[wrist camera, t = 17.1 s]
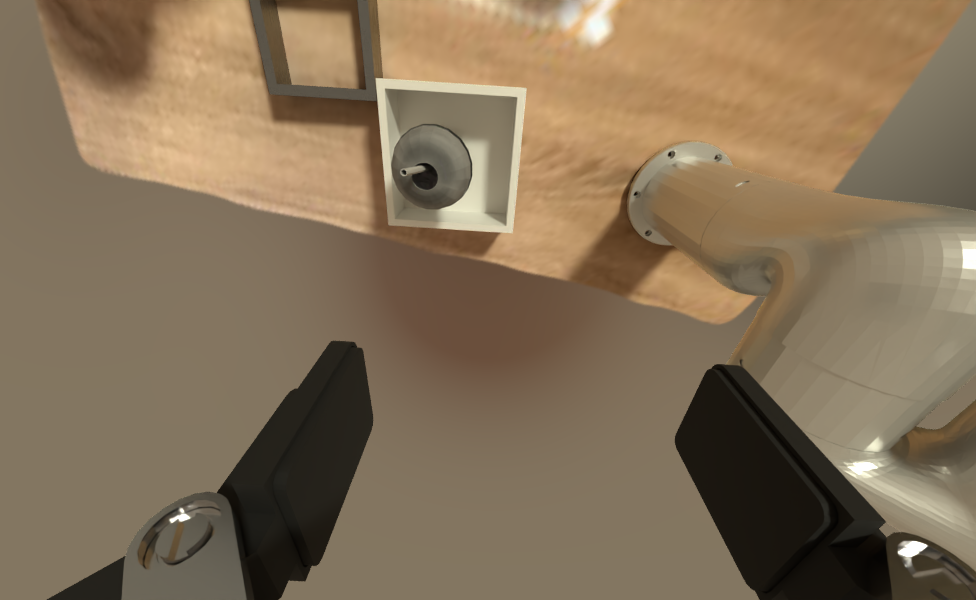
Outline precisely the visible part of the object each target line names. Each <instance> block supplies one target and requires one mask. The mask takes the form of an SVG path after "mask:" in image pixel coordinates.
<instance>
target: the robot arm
mask: <svg viewBox="0 0 976 600" xmlns="http://www.w3.org/2000/svg"><path fill="white" fill-rule="evenodd" d="M669 152H670V155H669V156H668V153H669ZM715 156H716V158H715ZM714 158H715V159H714ZM635 192H637V193H636V195H634V193H635ZM627 213H628V217H629V220H630V222H631V224H632V226H633V228H634V229H635V230H636V231H637V232H638V233H639V234H640V235H641V236H642V237H643V238H644V239H646V240H648V241H650V242H652V243H655V244H659V245H673V246H675V247H676V248H677V249H678V250H679V251H681V252H682V253H683V254H684V255H686V256H687V257H688V258H689V259H690V260H692V261H693V262H694V263H695V264H696V265H698V266H699V267H700V268H701V269H702V270H704V271H705V272H706V273H707V274H709V275H710V276H711V277H713V278H714V279H715V280H716V281H717V282H719V283H720V284H722V285H723V286H725V287H726V288H728V289H731V290H733V291H735V292H738V293H742V294H747V295H753V296H766V298H765V300H764V301H763V303H762V305H761V306H760V308H759V310H758V311H757V315H756V317H755V318H754V320H753V321H752V323H751V325H750V326H749V328H748V329H747V331H746V333H745V334H744V336H743V337H742V339H741V341H740V342H739V344H738V345H737V347H736V349H735V350H734V352H733V353H732V355H731V357H730V358H729V360H728V361H727V363H726V364H725V365H723V364H717V365H714V366H713V367H712V369H709V370H707V371H706V373H705V375H704V377H703V379H702V381H701V383H700V385H699V387H698V389H697V391H696V393H695V396H694V398H693V400H692V402H691V404H690V406H689V408H688V410H687V412H686V414H685V416H684V419H683V421H682V423H681V425H680V427H679V429H678V431H677V433H676V436H675V445H676V448H677V450H678V452H679V454H680V456H681V458H682V460H683V462H684V464H685V466H686V468H687V470H688V472H689V474H690V475H691V477H692V480H693V481H694V483H695V485H696V487H697V489H698V491H699V493H700V495H701V497H702V499H703V501H704V503H705V505H706V507H707V509H708V511H709V512H710V514H711V516H712V518H713V520H714V522H715V524H716V526H717V528H718V530H719V532H720V534H721V536H722V538H723V539H724V542H725V544H726V546H727V548H728V549H729V551H730V553H731V555H732V557H733V559H734V561H735V563H736V565H737V567H738V569H739V571H740V572H741V575H742V577H743V578H744V580H745V582H746V584H747V585H748V586H749V587H750V588H751V589H753V590H755V592H756V593H757V596H758V597H759V599H760V600H976V400H975V401H973V402H972V403H971V404H970V405H969V406H968V407H967V408H965V409H964V410H963V411H962V412H961V413H959V414H958V415H957V416H956V417H955V418H953V419H952V420H951V421H950V422H949V423H948V424H946V425H945V426H944V427H942V428H939V429H926V428H922V427H917V425H918V424H919V423H920V422H921V421H922V420H923V419H924V418H925V417H926V416H927V415H928V414H930V413H931V411H933V410H934V409H935V408H936V407H937V406H938V405H939V404H940V403H941V402H942V401H946V400H948V399H949V398H950V397H951V396H953V395H954V394H955V393H956V392H957V391H958V390H959V389H960V388H961V387H962V386H963V385H965V384H966V383H967V382H968V381H969V380H970V379H971V378H972V377H974V376H975V375H976V211H971V210H966V209H960V208H953V207H947V206H940V205H932V204H921V203H910V202H898V201H888V200H877V199H869V198H862V197H855V196H848V195H842V194H838V193H833V192H828V191H824V190H820V189H815V188H811V187H807V186H804V185H800V184H796V183H793V182H789V181H785V180H781V179H778V178H774V177H770V176H767V175H763V174H759V173H756V172H752V171H749V170H745V169H741V168H738V167H734V166H733V165H732V162H731V160H730V159H729V158H728V156H727V155H726V154H725V153H724V152H723V151H722V150H721V149H719V148H718V147H716V146H713V145H711V144H708V143H704V142H696V141H688V142H681V143H677V144H674V145H671V146H669V147H667V148H665V149H663V150H661V151H659V152H658V153H657V154H655V155H654V156H653V157H651V158H650V159H649V160H648V161H647V162H646V163H645V164H644V165H643V166H642V167H641V169H640V170H639V172H638V173H637V174H636V176H635V178H634V180H633V182H632V184H631V186H630V189H629V193H628V198H627ZM647 230H648V231H647ZM646 231H647V232H646ZM645 232H646V233H645ZM372 426H373V413H372V406H371V400H370V393H369V386H368V380H367V373H366V367H365V361H364V354H363V350H362V348H357V346H356V344H355V343H354V342H346V341H331V342H330V343H329V345H328V346H327V348H326V349H325V351H324V352H323V353H322V355H321V356H320V358H319V359H318V361H317V362H316V363H315V365H314V366H313V368H312V369H311V370H310V372H309V373H308V375H307V376H306V378H305V379H304V380H303V382H302V383H301V385H300V386H299V388H298V389H294V390H292V391H290V392H289V394H288V395H287V396H286V397H285V399H284V400H283V401H282V403H281V404H280V406H279V407H278V408H277V410H276V411H275V412H274V414H273V415H272V417H271V418H270V419H269V421H268V422H267V424H266V425H265V426H264V428H263V429H262V431H261V432H260V433H259V435H258V436H257V438H256V439H255V440H254V442H253V443H252V444H251V446H250V447H249V449H248V450H247V451H246V453H245V454H244V456H243V457H242V458H241V460H240V461H239V463H238V464H237V465H236V467H235V468H234V469H233V471H232V472H231V474H230V475H229V476H228V478H227V479H226V480H225V482H224V483H223V485H222V486H221V488H220V489H219V490H218V492H217V493H214V492H202V493H195V494H192V495H190V496H187V497H184V498H181V499H179V500H177V501H175V502H174V503H172V504H170V505H168V506H167V507H165V508H163V509H162V510H161V511H160V512H158V513H157V514H156V515H154V516H153V517H152V518H151V519H149V520H148V521H147V523H146V524H145V525H144V526H143V527H142V528H141V529H140V530H139V531H138V532H137V534H136V535H135V537H134V539H133V540H132V542H131V543H130V545H129V547H128V549H127V553H126V556H124V557H123V558H121V559H119V560H117V561H116V562H114V563H112V564H110V565H108V566H107V567H105V568H103V569H101V570H99V571H97V572H96V573H94V574H92V575H90V576H89V577H87V578H85V579H83V580H81V581H79V582H78V583H76V584H74V585H72V586H71V587H69V588H67V589H65V590H63V591H62V592H60V593H58V594H56V595H54V596H52V597H51V598H49V599H47V600H278V599H280V598H281V597H282V594H283V592H284V590H285V587H286V585H287V583H288V581H289V580H290V581H306V578H307V576H308V573H309V571H310V568H311V566H316V565H318V564H319V563H320V561H321V559H322V557H323V554H324V552H325V549H326V546H327V544H328V541H329V539H330V536H331V534H332V531H333V529H334V526H335V523H336V520H337V518H338V516H339V513H340V510H341V508H342V505H343V503H344V500H345V497H346V495H347V492H348V490H349V487H350V484H351V482H352V479H353V477H354V474H355V471H356V469H357V466H358V464H359V461H360V459H361V456H362V453H363V451H364V448H365V445H366V443H367V440H368V438H369V435H370V432H371V430H372ZM884 523H887V524H889V525H890V526H892V527H894V528H896V529H898V530H899V531H901V532H896V533H895V532H894V533H892V534H891V535H889V536H888V537H886V536H885V535H884V534H883V533H882V532H881V531H880V530H879V528H880V527H881V526H882V525H883V524H884Z"/></svg>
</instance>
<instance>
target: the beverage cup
mask: <svg viewBox="0 0 976 600" xmlns="http://www.w3.org/2000/svg"><path fill="white" fill-rule="evenodd" d="M391 168H392V177H393V179H394V182H395V184H396V187H397V189H398V190H399V191H400V193H401V194H402V195H403V196H404V198H405V199H407V200H408V201H409V202H411V203H412V204H414V205H415V206H418V207H421V208H424V209H435V210H438V209H441V208H445V207H448V206H451V205H453V204H454V203H456V202H457V201H458V200H460V199H461V198H462V197H463V195H464V194H465V193H466V191H467V190H468V188H469V185H470V182H471V179H472V160H471V157H470V154H469V150H468V148H467V147H466V145H465V144H464V142H463V141H462V139H461V138H460V137H459V136H457V135H456V134H455V133H454V132H453V131H451V130H450V129H448V128H445V127H443V126H440V125H438V124H421V125H419V126H416V127H413V128H411V129H409V130H408V131H407V132H406V133H405V134H403V135H402V136H401V137H400V139H399V141H398V143H397V144H396V146H395V148H394V152H393V157H392V162H391Z"/></svg>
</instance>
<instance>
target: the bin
mask: <svg viewBox="0 0 976 600" xmlns="http://www.w3.org/2000/svg"><path fill="white" fill-rule="evenodd" d="M376 89H377V100H378V112H379V123H380V135H381V146H382V158H383V169H384V181H385V192H386V203H387V215H388V225H390V226H406V227H422V228H438V229H454V230H470V231H485V232H501V233H513V225H514V214H515V204H516V193H517V183H518V172H519V162H520V152H521V141H522V131H523V120H524V110H525V99H526V89H527V88H519V87H504V86H489V85H474V84H458V83H443V82H428V81H413V80H398V79H382V78H376ZM421 124H438V125H440V126H443V127H445V128H448V129H450V130H451V131H453V132H454V133H455V134H456V135H457V136H459V137H460V138H461V139H462V141H463V142H464V144H465V145H466V147H467V148H468V150H469V154H470V157H471V160H472V179H471V182H470V185H469V188H468V190H467V191H466V193H465V194H464V195H463V197H462V198H461V199H460V200H458V201H457V202H456V203H454V204H453V205H451V206H448V207H445V208H441V209H438V210H435V209H424V208H421V207H418V206H415V205H414V204H412V203H411V202H409V201H408V200H407V199H405V198H404V196H403V195H402V194H401V193H400V191H399V190H398V189H397V187H396V184H395V182H394V179H393V177H392V168H391V162H392V157H393V152H394V148H395V146H396V144H397V143H398V141H399V139H400V137H401V136H402V135H403V134H405V133H406V132H407V131H408V130H409V129H411V128H413V127H416V126H419V125H421Z"/></svg>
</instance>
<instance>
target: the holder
mask: <svg viewBox="0 0 976 600" xmlns="http://www.w3.org/2000/svg"><path fill="white" fill-rule="evenodd" d="M249 2H250V7H251V11H252V16H253V20H254V25H255V29H256V34H257V39H258V43H259V48H260V52H261V57H262V61H263V66H264V71H265V75H266V80H267V84H268V89H269V93H270V94H273V95H289V96H304V97H319V98H335V99H350V100H365V101H378V100H377V89H376V78H382V79H383V74H382V61H381V48H380V35H379V23H378V10H377V0H357V2H358V12H359V22H360V32H361V42H362V52H363V62H364V72H365V82H366V90H363V89H348V88H333V87H317V86H302V85H291V80H290V74H289V69H288V64H287V59H286V53H285V48H284V43H283V38H282V32H281V27H280V22H279V17H278V11H277V6H276V1H275V0H249Z"/></svg>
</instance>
